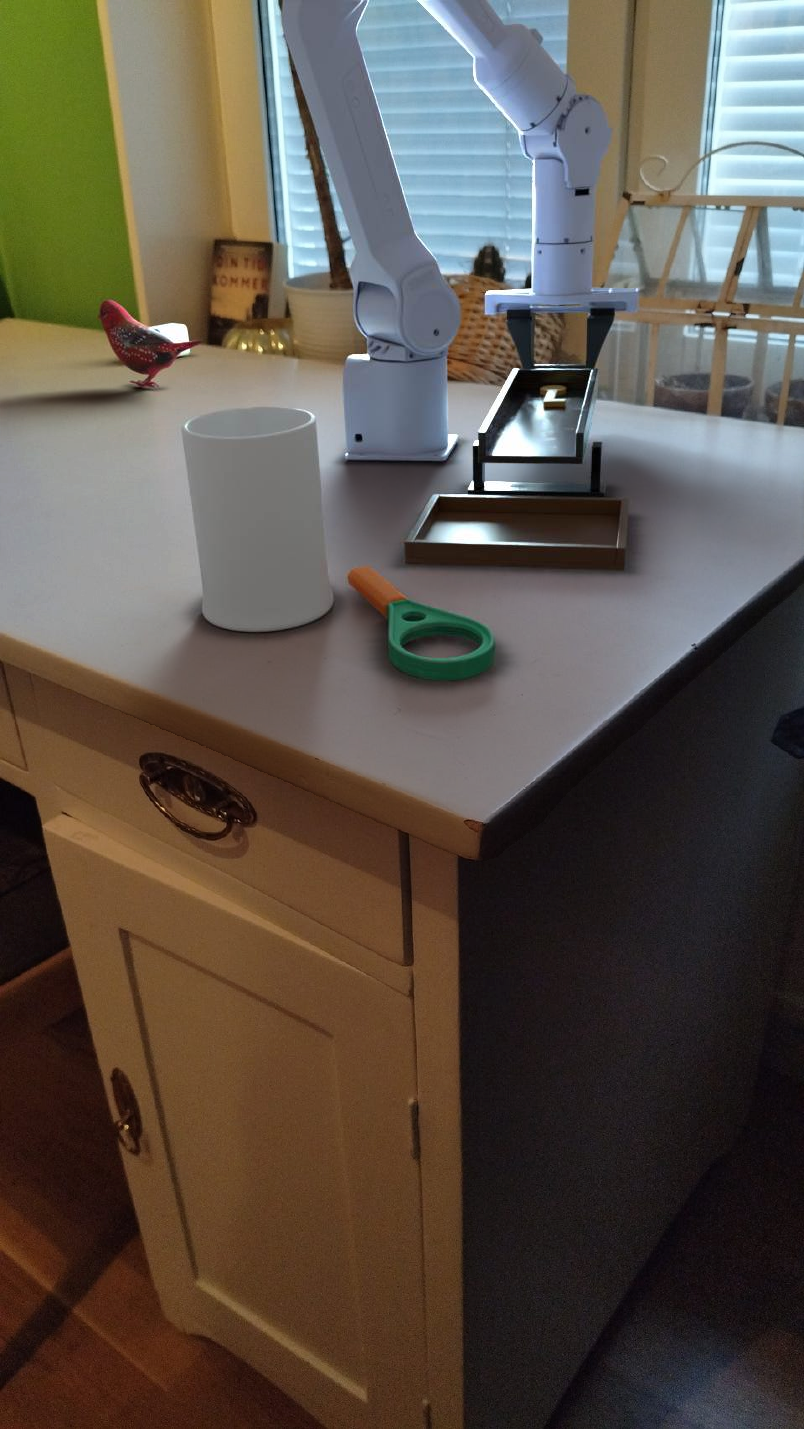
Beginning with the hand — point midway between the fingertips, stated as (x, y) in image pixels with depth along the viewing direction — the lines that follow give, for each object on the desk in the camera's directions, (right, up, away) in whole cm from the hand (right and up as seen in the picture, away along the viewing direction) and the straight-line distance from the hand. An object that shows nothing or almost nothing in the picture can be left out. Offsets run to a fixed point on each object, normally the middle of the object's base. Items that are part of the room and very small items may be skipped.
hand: (559, 389), depth 109 cm
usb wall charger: (-49, +19, +42) cm, 67 cm away
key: (-2, -3, -9) cm, 10 cm away
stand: (-4, -14, -18) cm, 23 cm away
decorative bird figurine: (-46, +7, +25) cm, 53 cm away
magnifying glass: (-15, -27, -42) cm, 52 cm away
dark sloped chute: (-3, -6, -12) cm, 14 cm away
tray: (-7, -19, -28) cm, 35 cm away
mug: (-25, -25, -36) cm, 51 cm away
